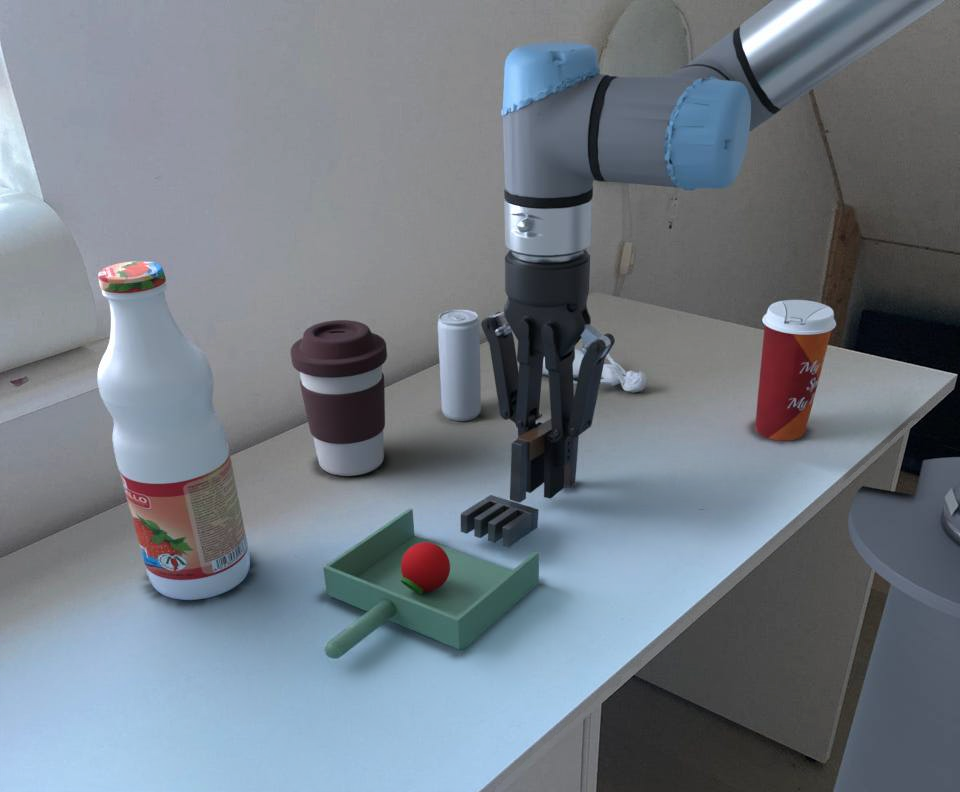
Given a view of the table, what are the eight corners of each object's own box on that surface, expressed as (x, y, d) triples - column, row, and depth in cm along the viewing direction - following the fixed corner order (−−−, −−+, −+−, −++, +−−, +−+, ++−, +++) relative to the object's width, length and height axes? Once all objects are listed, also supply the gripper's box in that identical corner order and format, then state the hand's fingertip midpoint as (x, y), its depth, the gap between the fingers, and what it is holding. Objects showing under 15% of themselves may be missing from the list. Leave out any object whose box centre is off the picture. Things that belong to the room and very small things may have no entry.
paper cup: (807, 449, 109) (832, 325, 101) (739, 438, 112) (757, 316, 103) (819, 421, 115) (843, 302, 106) (754, 411, 118) (772, 294, 109)
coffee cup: (363, 491, 104) (348, 354, 95) (289, 472, 108) (267, 338, 99) (412, 453, 111) (403, 322, 102) (341, 436, 115) (326, 309, 106)
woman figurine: (547, 318, 132) (668, 352, 124) (545, 350, 135) (663, 385, 127) (500, 345, 124) (626, 383, 117) (498, 378, 127) (621, 417, 120)
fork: (548, 475, 106) (552, 403, 101) (593, 488, 103) (599, 415, 99) (460, 532, 94) (460, 454, 90) (508, 548, 92) (511, 469, 87)
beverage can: (472, 403, 122) (469, 306, 114) (487, 418, 118) (485, 319, 111) (436, 410, 120) (431, 312, 113) (450, 425, 117) (446, 326, 109)
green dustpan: (411, 537, 96) (409, 507, 94) (538, 582, 89) (539, 552, 87) (265, 641, 83) (259, 609, 81) (401, 704, 76) (398, 671, 74)
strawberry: (443, 542, 85) (413, 584, 84) (467, 567, 88) (439, 607, 87) (411, 527, 87) (382, 567, 87) (435, 552, 91) (408, 591, 90)
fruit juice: (261, 588, 90) (202, 277, 73) (157, 612, 87) (70, 296, 70) (241, 539, 97) (182, 245, 80) (144, 561, 94) (61, 261, 77)
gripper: (454, 249, 87) (464, 486, 101) (600, 274, 80) (589, 524, 94) (501, 229, 91) (504, 458, 106) (642, 251, 85) (625, 492, 99)
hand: (544, 489), depth 100 cm, fingers closed on fork, 2 cm apart
